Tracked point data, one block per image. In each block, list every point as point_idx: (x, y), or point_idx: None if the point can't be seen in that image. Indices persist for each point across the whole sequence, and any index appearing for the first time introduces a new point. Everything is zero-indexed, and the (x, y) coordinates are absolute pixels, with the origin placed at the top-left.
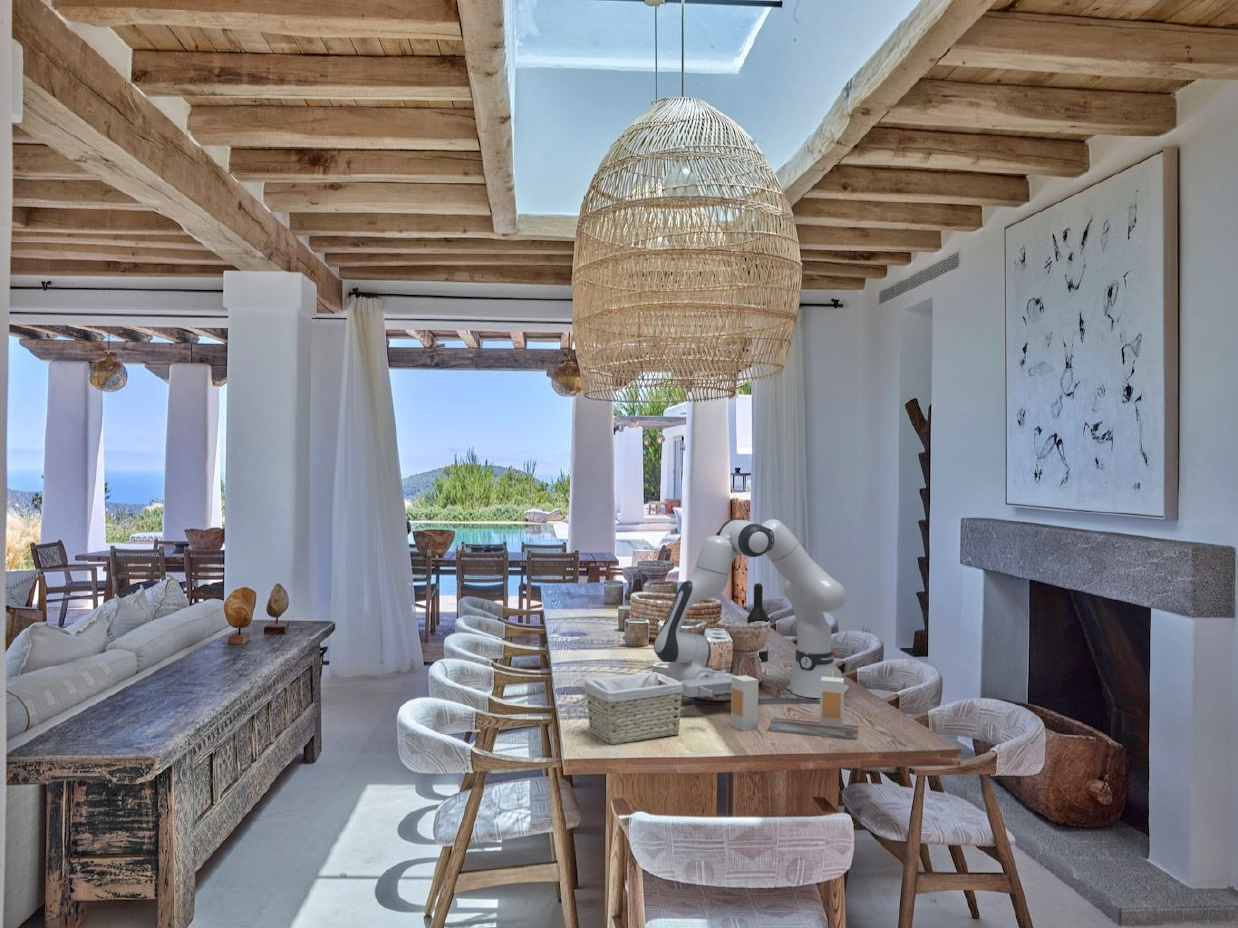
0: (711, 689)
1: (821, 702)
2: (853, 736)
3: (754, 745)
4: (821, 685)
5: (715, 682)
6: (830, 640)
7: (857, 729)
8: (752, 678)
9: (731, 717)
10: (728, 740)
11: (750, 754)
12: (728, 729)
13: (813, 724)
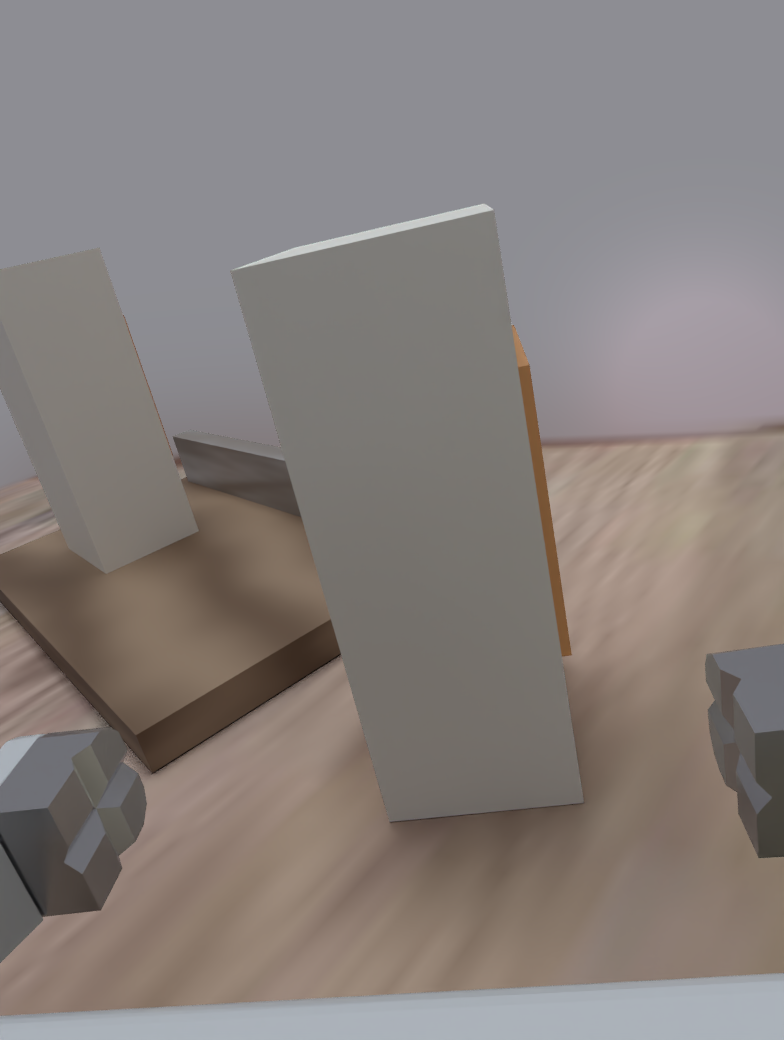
0: (768, 704)
1: (144, 381)
2: None
3: (635, 496)
4: (109, 280)
5: (347, 1032)
6: None
7: (45, 536)
8: (306, 246)
9: (571, 724)
10: (778, 547)
11: (720, 437)
12: (672, 717)
13: (276, 446)
